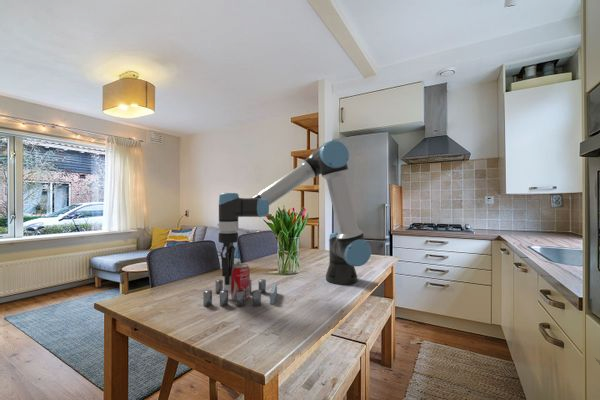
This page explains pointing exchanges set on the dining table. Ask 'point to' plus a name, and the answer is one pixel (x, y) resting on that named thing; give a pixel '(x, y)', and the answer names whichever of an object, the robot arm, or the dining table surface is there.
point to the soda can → (240, 279)
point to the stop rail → (273, 293)
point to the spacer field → (239, 294)
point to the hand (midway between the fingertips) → (228, 292)
